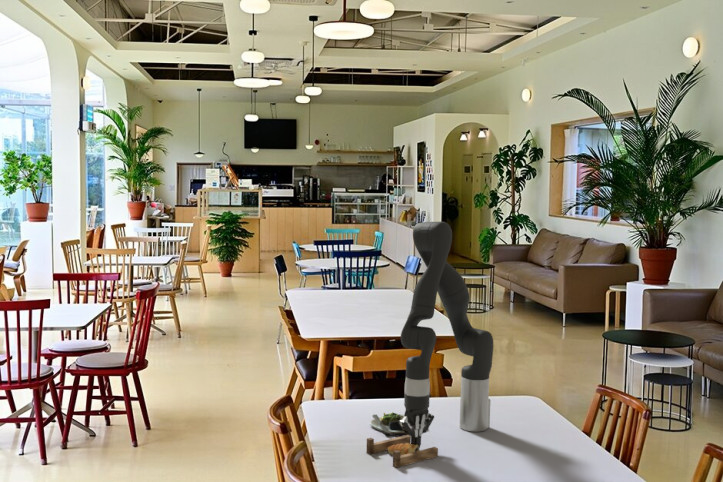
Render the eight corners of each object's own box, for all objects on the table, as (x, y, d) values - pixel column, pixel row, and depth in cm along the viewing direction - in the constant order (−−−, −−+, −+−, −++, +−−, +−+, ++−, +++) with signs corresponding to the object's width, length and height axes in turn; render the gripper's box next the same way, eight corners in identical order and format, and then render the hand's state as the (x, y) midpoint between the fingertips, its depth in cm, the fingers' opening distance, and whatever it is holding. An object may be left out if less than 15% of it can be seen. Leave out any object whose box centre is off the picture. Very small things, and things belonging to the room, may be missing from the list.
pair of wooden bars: (407, 442, 235) (407, 428, 235) (437, 456, 224) (438, 441, 224) (366, 452, 226) (366, 438, 226) (396, 467, 215) (396, 452, 214)
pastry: (384, 456, 224) (384, 444, 223) (391, 449, 230) (392, 437, 230) (414, 461, 220) (414, 448, 220) (421, 454, 226) (421, 441, 226)
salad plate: (354, 424, 253) (355, 411, 253) (394, 414, 264) (394, 402, 264) (392, 440, 238) (393, 426, 238) (433, 429, 249) (433, 416, 249)
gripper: (425, 385, 234) (423, 439, 235) (392, 392, 226) (390, 448, 227) (441, 391, 228) (440, 447, 229) (408, 398, 220) (407, 456, 221)
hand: (415, 447), depth 228 cm, fingers closed
